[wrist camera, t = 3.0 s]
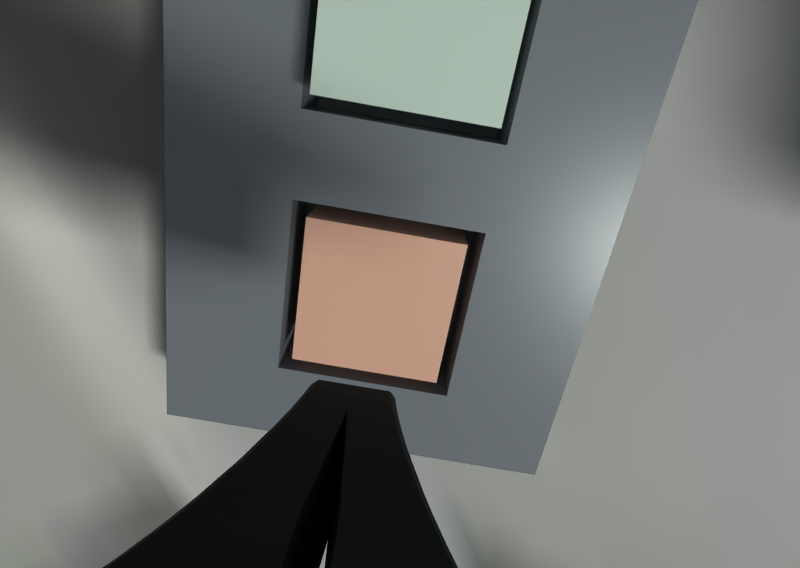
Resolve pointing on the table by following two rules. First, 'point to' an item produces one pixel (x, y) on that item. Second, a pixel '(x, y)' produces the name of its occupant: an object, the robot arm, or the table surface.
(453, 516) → the table surface
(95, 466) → the table surface
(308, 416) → the robot arm
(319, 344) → the terracotta key
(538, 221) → the keypad
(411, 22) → the sage key
